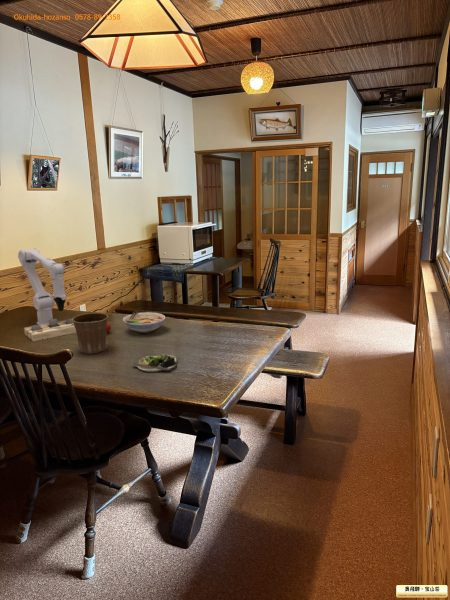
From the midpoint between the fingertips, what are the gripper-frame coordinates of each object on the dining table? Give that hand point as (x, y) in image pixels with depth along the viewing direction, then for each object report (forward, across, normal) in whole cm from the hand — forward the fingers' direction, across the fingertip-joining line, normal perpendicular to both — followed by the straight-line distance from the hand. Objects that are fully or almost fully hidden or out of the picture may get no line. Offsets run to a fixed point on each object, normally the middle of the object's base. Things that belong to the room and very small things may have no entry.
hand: (61, 310), depth 237 cm
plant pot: (+11, +42, -1) cm, 44 cm away
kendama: (+11, +23, +9) cm, 27 cm away
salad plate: (+12, +80, +13) cm, 81 cm away
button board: (+10, +4, -6) cm, 13 cm away
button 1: (+10, +3, -15) cm, 18 cm away
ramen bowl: (+11, +32, +33) cm, 48 cm away
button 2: (+8, +3, -6) cm, 10 cm away
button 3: (+10, +3, +3) cm, 11 cm away
